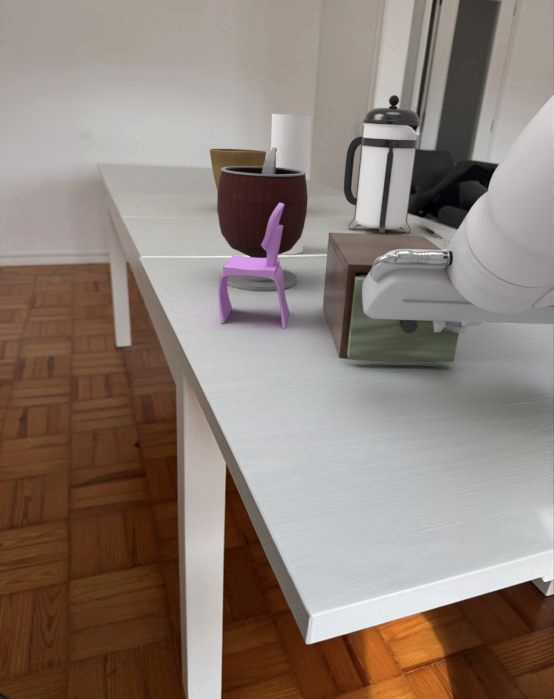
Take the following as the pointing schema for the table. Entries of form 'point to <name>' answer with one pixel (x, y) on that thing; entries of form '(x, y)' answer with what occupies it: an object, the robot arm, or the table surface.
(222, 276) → the toy chair
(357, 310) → the drawer
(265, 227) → the mate gourd
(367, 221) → the coffee press
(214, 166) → the plant pot
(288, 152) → the cylindrical container
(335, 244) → the cabinet
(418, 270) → the robot arm
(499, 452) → the table surface
